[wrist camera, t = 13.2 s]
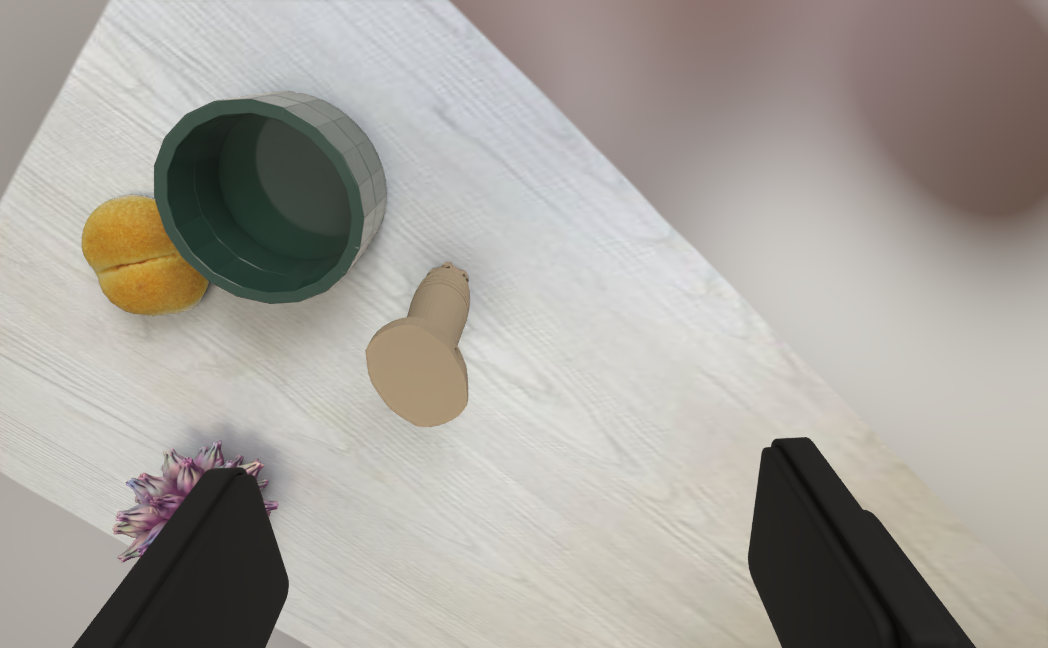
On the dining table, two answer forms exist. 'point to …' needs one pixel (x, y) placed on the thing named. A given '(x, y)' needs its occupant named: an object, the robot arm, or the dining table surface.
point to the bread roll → (139, 259)
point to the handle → (425, 352)
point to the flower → (172, 494)
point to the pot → (270, 194)
